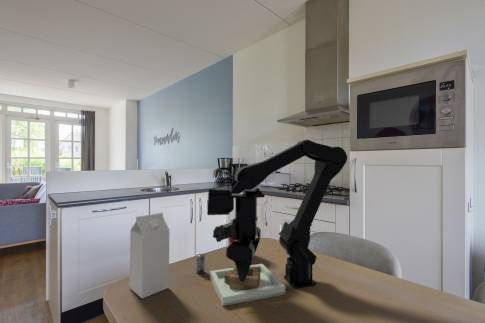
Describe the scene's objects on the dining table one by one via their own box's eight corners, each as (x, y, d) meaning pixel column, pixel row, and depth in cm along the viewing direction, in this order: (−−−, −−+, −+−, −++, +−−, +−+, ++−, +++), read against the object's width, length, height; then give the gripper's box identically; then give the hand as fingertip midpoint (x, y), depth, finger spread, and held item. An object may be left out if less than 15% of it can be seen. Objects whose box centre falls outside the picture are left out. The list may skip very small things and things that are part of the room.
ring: (260, 278, 67) (260, 267, 67) (256, 291, 60) (256, 279, 60) (228, 275, 68) (228, 264, 68) (221, 287, 61) (222, 275, 61)
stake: (203, 270, 73) (203, 253, 73) (205, 273, 71) (205, 256, 71) (195, 271, 72) (195, 254, 72) (197, 274, 70) (197, 257, 70)
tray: (262, 270, 73) (262, 263, 73) (285, 294, 60) (285, 286, 60) (210, 278, 68) (210, 271, 68) (222, 306, 54) (222, 297, 54)
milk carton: (129, 288, 62) (130, 214, 62) (155, 279, 67) (156, 210, 67) (141, 299, 57) (142, 219, 57) (168, 288, 62) (169, 214, 62)
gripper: (225, 206, 75) (225, 257, 74) (205, 220, 56) (204, 287, 56) (261, 208, 72) (260, 260, 72) (252, 223, 54) (251, 292, 54)
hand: (245, 273), depth 64 cm, fingers open, 9 cm apart
